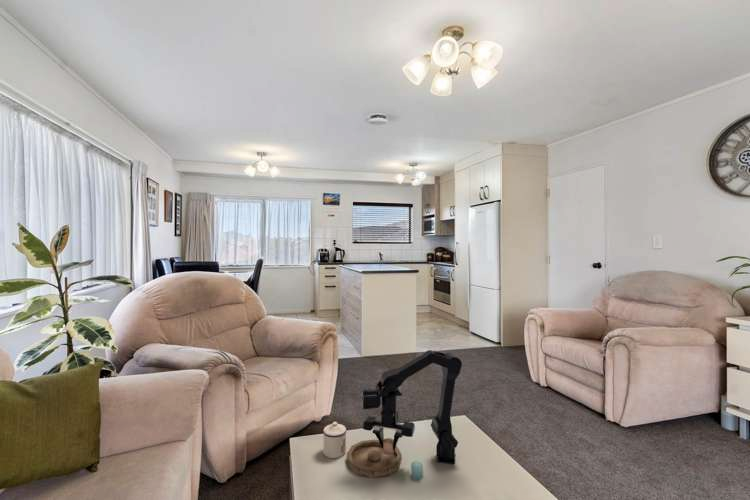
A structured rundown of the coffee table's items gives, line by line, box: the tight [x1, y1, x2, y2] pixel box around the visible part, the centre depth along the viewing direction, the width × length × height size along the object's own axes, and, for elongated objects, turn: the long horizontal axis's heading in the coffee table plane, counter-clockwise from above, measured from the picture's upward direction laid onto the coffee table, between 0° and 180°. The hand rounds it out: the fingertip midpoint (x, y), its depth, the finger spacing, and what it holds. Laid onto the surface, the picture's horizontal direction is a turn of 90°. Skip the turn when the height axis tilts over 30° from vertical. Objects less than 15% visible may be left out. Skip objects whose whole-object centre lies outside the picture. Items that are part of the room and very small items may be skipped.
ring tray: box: [346, 439, 403, 479], centre depth 133 cm, size 20×20×3 cm
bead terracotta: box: [383, 437, 394, 455], centre depth 131 cm, size 4×4×4 cm
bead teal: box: [410, 460, 424, 480], centre depth 124 cm, size 4×4×4 cm
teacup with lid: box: [322, 421, 347, 459], centre depth 140 cm, size 12×9×12 cm
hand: (388, 449), depth 131 cm, fingers closed on bead terracotta, 4 cm apart
